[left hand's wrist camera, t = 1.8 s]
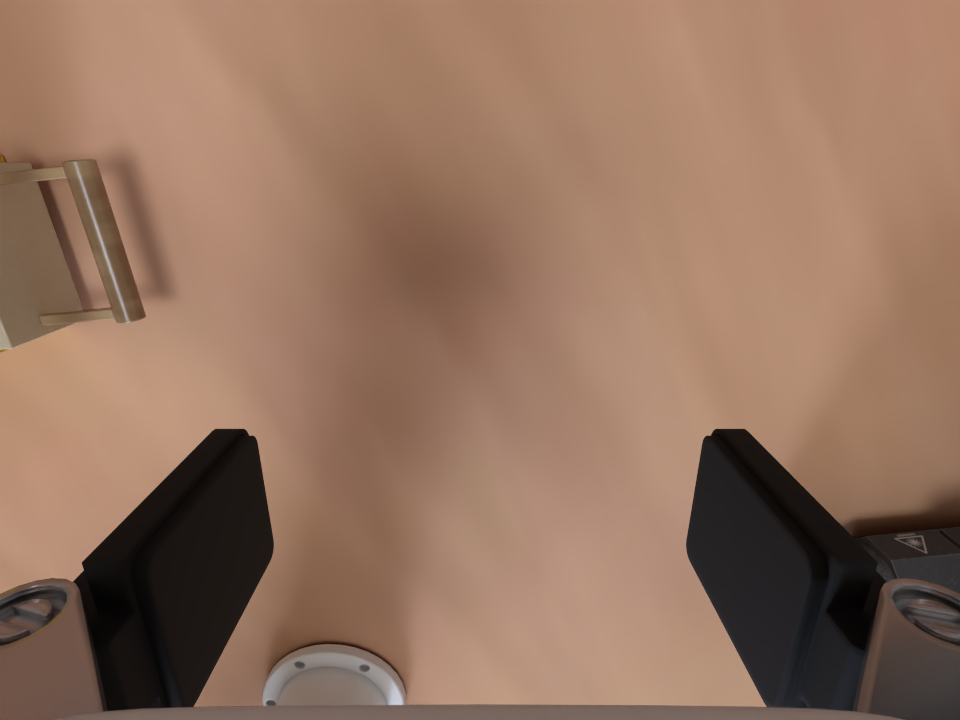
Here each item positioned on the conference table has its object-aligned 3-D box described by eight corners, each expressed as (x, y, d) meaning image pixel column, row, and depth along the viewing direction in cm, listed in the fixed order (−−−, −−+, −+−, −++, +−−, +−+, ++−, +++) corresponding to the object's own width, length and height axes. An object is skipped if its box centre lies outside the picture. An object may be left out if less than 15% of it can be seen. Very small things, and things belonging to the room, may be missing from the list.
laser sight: (752, 512, 41) (832, 614, 32) (1053, 481, 41) (1226, 577, 31) (746, 609, 45) (817, 727, 35) (1024, 583, 44) (1172, 697, 34)
